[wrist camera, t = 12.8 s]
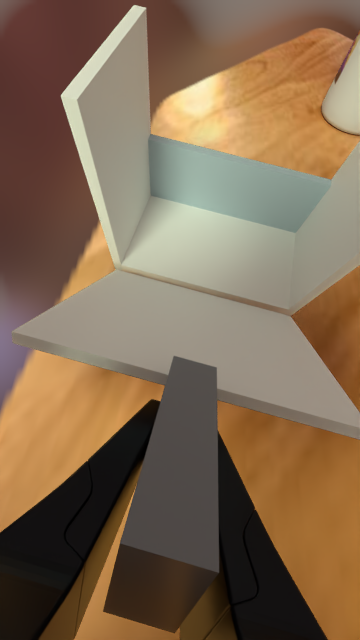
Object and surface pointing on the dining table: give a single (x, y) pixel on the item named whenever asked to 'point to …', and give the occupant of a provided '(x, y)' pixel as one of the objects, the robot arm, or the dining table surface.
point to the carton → (204, 195)
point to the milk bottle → (345, 94)
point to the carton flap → (185, 416)
